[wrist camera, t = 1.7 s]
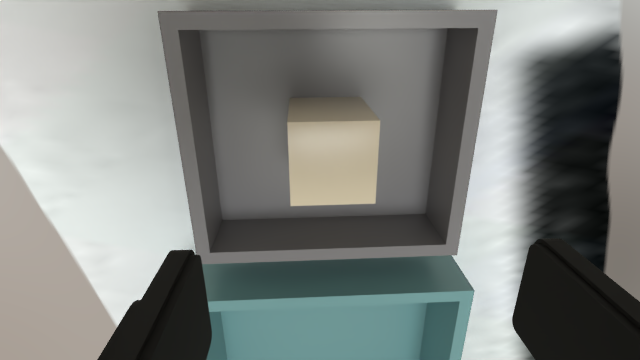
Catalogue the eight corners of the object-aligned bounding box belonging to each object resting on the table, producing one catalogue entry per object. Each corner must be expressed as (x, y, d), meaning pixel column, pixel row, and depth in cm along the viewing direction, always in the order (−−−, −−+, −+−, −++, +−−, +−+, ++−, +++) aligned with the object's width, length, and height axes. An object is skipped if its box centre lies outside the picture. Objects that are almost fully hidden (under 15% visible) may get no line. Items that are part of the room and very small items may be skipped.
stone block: (289, 97, 23) (287, 122, 17) (360, 96, 23) (380, 120, 18) (292, 164, 25) (290, 206, 19) (358, 163, 25) (375, 203, 19)
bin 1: (187, 13, 22) (157, 11, 17) (456, 11, 23) (497, 9, 18) (215, 223, 27) (198, 264, 23) (430, 216, 28) (456, 255, 23)
